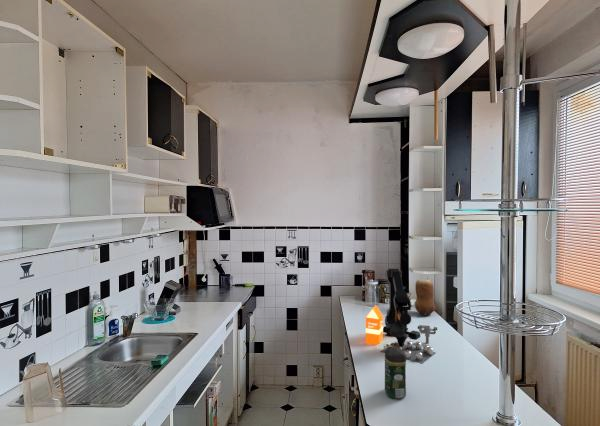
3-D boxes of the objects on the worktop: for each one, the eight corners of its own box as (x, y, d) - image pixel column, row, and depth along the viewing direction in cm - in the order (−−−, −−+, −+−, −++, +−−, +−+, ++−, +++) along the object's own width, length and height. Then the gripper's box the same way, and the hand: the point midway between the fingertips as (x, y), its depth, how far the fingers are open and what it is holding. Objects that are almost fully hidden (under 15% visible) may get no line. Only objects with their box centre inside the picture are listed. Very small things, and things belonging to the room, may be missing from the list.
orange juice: (382, 340, 216) (383, 305, 216) (379, 345, 208) (379, 309, 208) (369, 338, 220) (369, 303, 219) (365, 343, 212) (365, 307, 211)
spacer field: (382, 352, 198) (382, 345, 198) (398, 342, 211) (398, 336, 211) (422, 363, 184) (422, 356, 183) (436, 352, 197) (436, 346, 197)
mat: (379, 352, 198) (379, 351, 198) (395, 343, 212) (395, 342, 212) (422, 365, 183) (422, 363, 183) (436, 353, 197) (436, 352, 197)
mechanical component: (437, 345, 208) (437, 327, 208) (417, 344, 210) (417, 326, 210) (436, 343, 211) (436, 326, 211) (417, 342, 213) (417, 324, 213)
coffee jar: (382, 388, 161) (382, 344, 160) (401, 388, 161) (401, 344, 160) (388, 400, 151) (388, 353, 150) (408, 400, 151) (408, 353, 150)
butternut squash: (418, 311, 274) (419, 276, 274) (437, 314, 267) (438, 278, 266) (412, 315, 263) (412, 279, 262) (431, 319, 255) (432, 282, 255)
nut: (389, 349, 201) (389, 345, 201) (392, 346, 205) (392, 342, 205) (397, 351, 199) (397, 346, 198) (400, 348, 203) (400, 343, 203)
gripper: (377, 318, 200) (377, 348, 200) (411, 326, 188) (411, 357, 188) (387, 314, 208) (387, 342, 209) (420, 320, 196) (420, 350, 196)
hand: (401, 348), depth 200 cm, fingers closed
